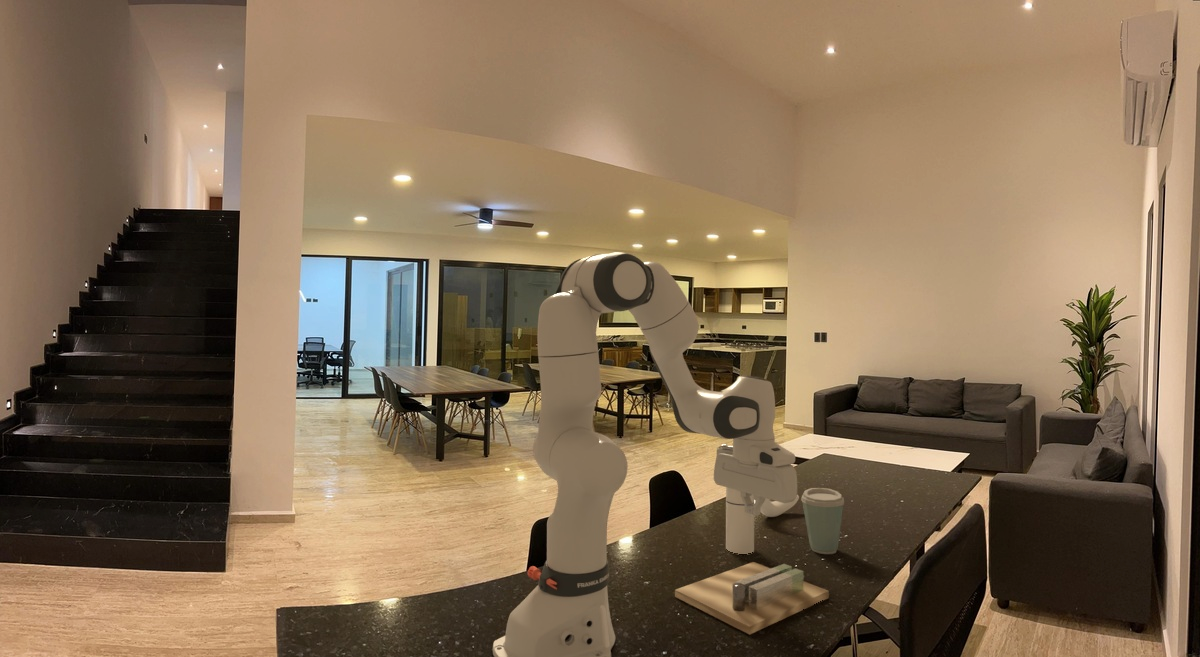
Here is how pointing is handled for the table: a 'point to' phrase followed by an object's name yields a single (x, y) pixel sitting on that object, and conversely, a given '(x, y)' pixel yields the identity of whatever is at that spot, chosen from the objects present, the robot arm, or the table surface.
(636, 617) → the table surface
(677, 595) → the cutting board
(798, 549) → the table surface
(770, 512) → the banana
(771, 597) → the bar
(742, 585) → the bar
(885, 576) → the table surface
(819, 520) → the disposable coffee cup
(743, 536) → the cylindrical container
